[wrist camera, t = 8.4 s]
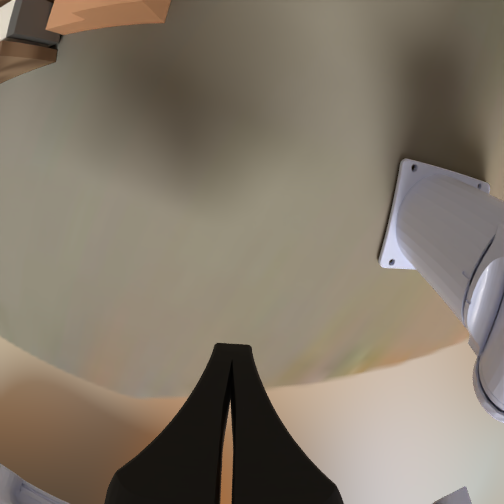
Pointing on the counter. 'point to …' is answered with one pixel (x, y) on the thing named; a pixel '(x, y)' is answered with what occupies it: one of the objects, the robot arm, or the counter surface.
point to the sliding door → (27, 22)
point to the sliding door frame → (22, 56)
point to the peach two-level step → (104, 14)
